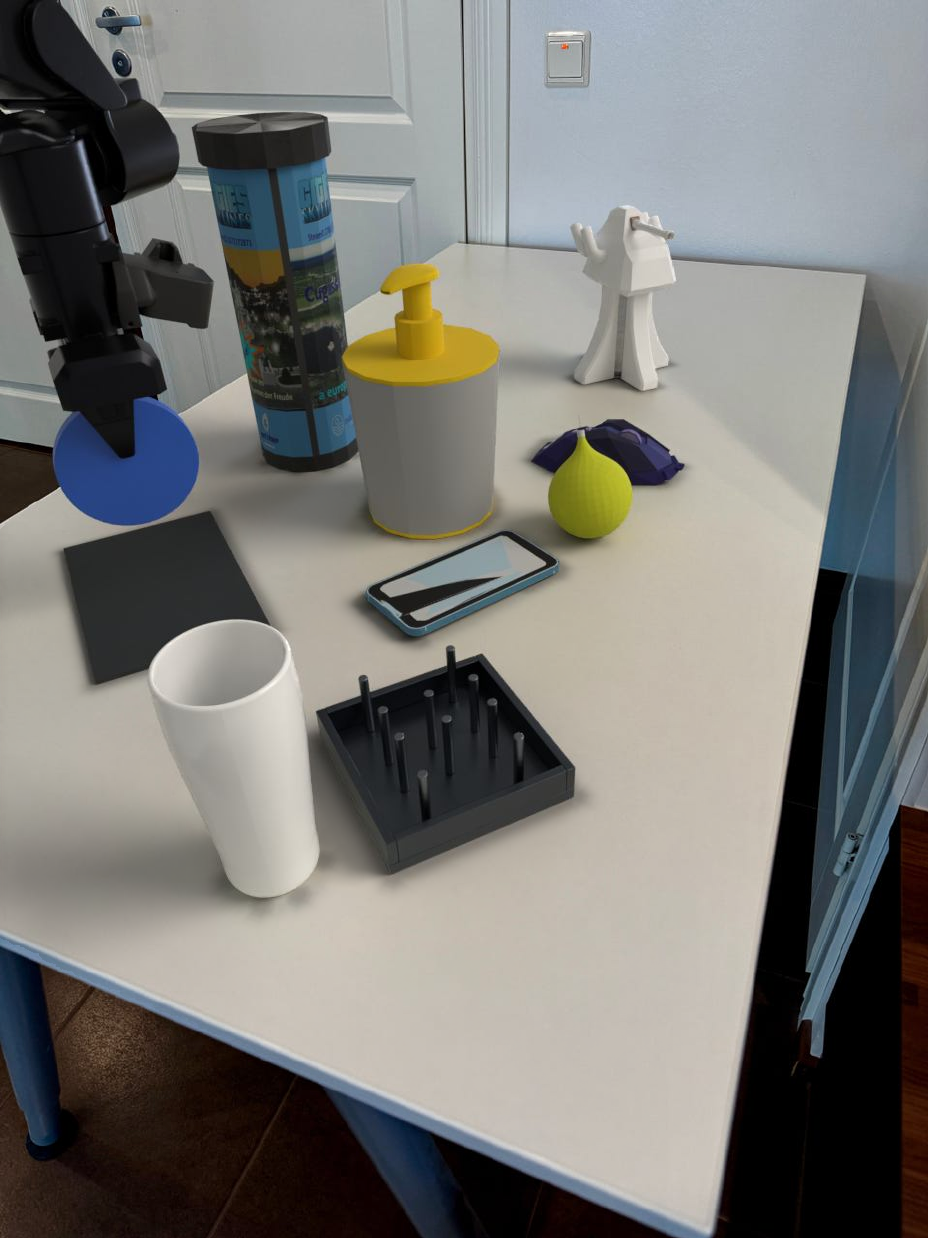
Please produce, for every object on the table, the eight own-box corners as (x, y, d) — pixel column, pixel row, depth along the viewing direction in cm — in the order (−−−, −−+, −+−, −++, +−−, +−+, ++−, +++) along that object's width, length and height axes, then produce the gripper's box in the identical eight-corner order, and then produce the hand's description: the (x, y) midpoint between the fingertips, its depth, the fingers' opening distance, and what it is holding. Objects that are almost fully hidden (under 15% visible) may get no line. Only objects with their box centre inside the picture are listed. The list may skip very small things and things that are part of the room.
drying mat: (96, 684, 63) (94, 680, 63) (64, 551, 77) (63, 548, 77) (271, 630, 67) (271, 626, 67) (210, 514, 82) (210, 510, 81)
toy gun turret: (610, 403, 98) (621, 231, 87) (552, 364, 107) (556, 205, 97) (699, 382, 101) (720, 215, 90) (635, 346, 111) (648, 191, 100)
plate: (213, 505, 69) (179, 383, 63) (81, 541, 66) (32, 417, 59) (209, 498, 70) (176, 378, 63) (79, 534, 66) (31, 411, 60)
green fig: (565, 505, 80) (569, 402, 74) (640, 521, 78) (650, 415, 72) (534, 543, 75) (535, 436, 69) (612, 562, 73) (620, 452, 67)
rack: (574, 797, 53) (577, 734, 50) (390, 875, 49) (381, 812, 46) (483, 681, 62) (481, 621, 58) (320, 739, 58) (309, 678, 54)
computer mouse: (556, 430, 93) (558, 394, 90) (696, 454, 87) (701, 416, 85) (522, 469, 86) (522, 431, 84) (671, 497, 81) (675, 458, 78)
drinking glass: (279, 935, 46) (220, 731, 37) (188, 880, 49) (112, 679, 40) (357, 845, 51) (322, 643, 42) (269, 799, 54) (218, 602, 45)
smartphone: (565, 562, 71) (413, 633, 64) (564, 572, 72) (414, 643, 65) (507, 526, 76) (360, 588, 69) (507, 536, 77) (361, 598, 70)
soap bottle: (331, 513, 81) (296, 276, 68) (425, 459, 89) (410, 238, 76) (438, 560, 74) (421, 307, 61) (530, 497, 82) (532, 261, 69)
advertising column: (256, 433, 95) (193, 117, 77) (359, 420, 97) (322, 108, 78) (258, 481, 86) (188, 137, 68) (371, 466, 88) (333, 126, 70)
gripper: (221, 237, 50) (268, 479, 60) (160, 182, 64) (206, 386, 73) (15, 269, 47) (100, 521, 56) (-4, 203, 60) (67, 415, 70)
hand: (126, 452), depth 64 cm, fingers closed on plate, 1 cm apart
